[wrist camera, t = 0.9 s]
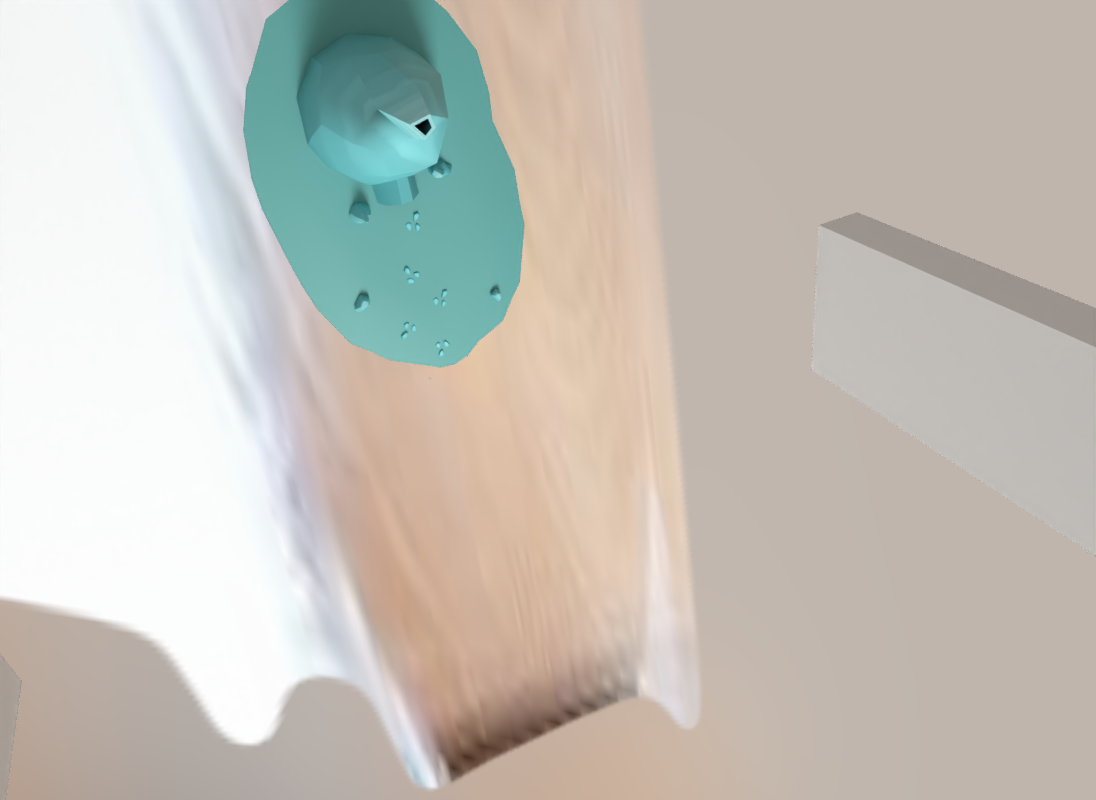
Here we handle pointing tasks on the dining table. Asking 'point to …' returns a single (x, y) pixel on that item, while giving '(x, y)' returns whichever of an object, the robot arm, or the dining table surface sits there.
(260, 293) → the dining table surface
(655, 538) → the dining table surface
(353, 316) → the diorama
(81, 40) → the dining table surface
